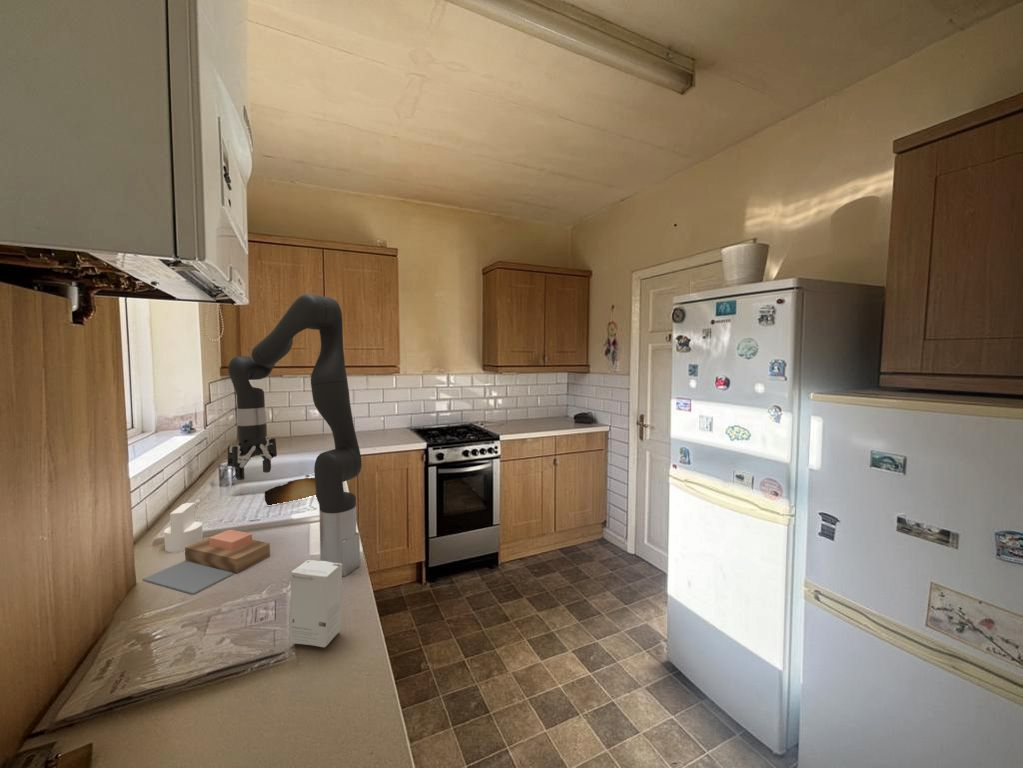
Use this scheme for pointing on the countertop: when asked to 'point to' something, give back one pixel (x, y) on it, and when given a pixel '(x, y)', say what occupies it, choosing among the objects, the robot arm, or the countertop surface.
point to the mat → (188, 577)
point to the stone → (291, 491)
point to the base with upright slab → (182, 529)
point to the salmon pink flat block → (230, 540)
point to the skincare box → (315, 603)
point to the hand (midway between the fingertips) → (254, 475)
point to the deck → (227, 555)
